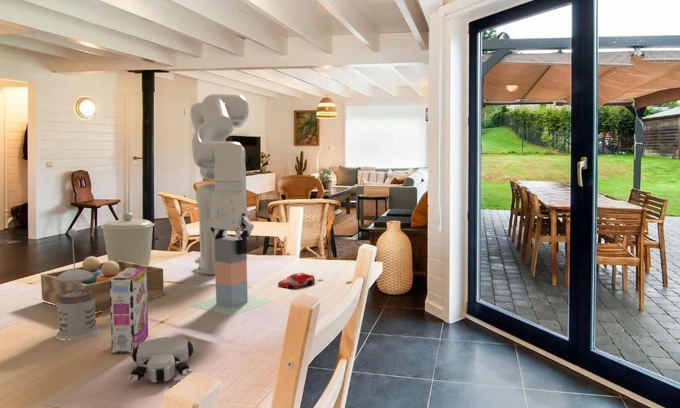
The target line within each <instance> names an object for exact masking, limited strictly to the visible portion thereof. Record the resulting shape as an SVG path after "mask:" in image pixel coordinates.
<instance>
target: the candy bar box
mask: <svg viewBox="0 0 680 408" xmlns="http://www.w3.org/2000/svg"><path fill="white" fill-rule="evenodd" d="M109 280H110V307H111V310H110V328H111V329H110V331H111V332H110V334H111V338H110V339H111V354H131V352H132V344H133V342H134V347H133V351H134V349H135V348H136V347H137V346H139V344H140V343H142V342H144V341H146V338H147V337H148V336H149V313H148V312H149V311H148V299H147V268H126V269H124V270H123V271H121V272H120V273H118V274H117V275H115V276H113V277H112V278H110V279H109Z"/></svg>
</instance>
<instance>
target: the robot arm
mask: <svg viewBox="0 0 680 408" xmlns="http://www.w3.org/2000/svg"><path fill="white" fill-rule="evenodd" d="M249 110H250V108H249V104H248V101H247V99H246V98H245V97H244V96H243V95H242V94H227V93H226V94H225V93H221V94H220V93H212V94H209V95H207V96H205V97H204V98H203V100H202V102H197V103H194V104H193V105H192V106H191V107H190V120H191V124H192V127H193V129H194V133H193V134H192V138H191V139H192V140H191V148H192V149H191V150H192V157H193V161H194V164H195V165H196V167H198V168H199V174H200V176H201V177H202V178H203V179H206V180H214V182H213V183H212V182H211V183H209V182H208V183H203V184H201V185H199V186H198V187H197V188H196V190H195V199H196V205H197V206H196V207H197V211H198V220H199V221H198V223H199V226H198V227H199V251H200V252H199V253H200V256H199V257H197V259H195V260H194V263H195V264H198V267H196V269H195V271H196V273H197V274H200V275H206V276H207V275H209V276H210V275H211V276H212V275H213V276H214V275H215V240H214V239H219V238H224V237H228V231H229V232H234V233H235V235H236V237H238V240H237V241H236V249H237V255H241V254H245V253H246V252H247V240H248V239H249V236H250V235H251V233H252V232H253V229H254V227H255V225H254V223H253V222H252V221H251V220H250V219H249V217H248V216H249V215H248V206H247V205H248V204H247V173H246V171H247V168H246V149H245V148H244V146H243V144H241V143H240V142H237V141H224V139H227V138H228V137H230V136H231V135H232V134H233V131H234V129H239V128H241V127H242V126H243V125H244V124H245V122H246V121H247V120H248V117H249Z"/></svg>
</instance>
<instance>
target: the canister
mask: <svg viewBox="0 0 680 408" xmlns="http://www.w3.org/2000/svg"><path fill="white" fill-rule="evenodd" d="M133 215H134V214H133V213H131V212H127V211H126V212H123V214H122V219H117V220H112V221H111V220H110V221H107V222H105V223H104V224H103V225H101V226H100V228H101V230H102V234H103V239H104V244H105V251H106V255H107V256H106V257H107V259H108V260H107V261H114V260H120V261H125V262H131V263H136V264H141V265H146V266H150V263H151V257H152V255H151V254H152V253H151V252H152V245H153V244H152V242H153V231H154V230H153V227H154V226H155V224H156V223H154V222H152V221H151V220H148V219H144V218H143V219H140V218H133V217H134V216H133Z"/></svg>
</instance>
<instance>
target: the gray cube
mask: <svg viewBox="0 0 680 408" xmlns="http://www.w3.org/2000/svg"><path fill="white" fill-rule="evenodd" d="M214 240H215V261H217V262H224V263H230V264H232V263H236V262H240V261H244V260H247V259H248V255H247V254H248V253H247V252H246V253H245V254H241V255H237V249H236V241H237V240H238V237H237V236H232V235H231V236H227V237H224V238H219V239H214ZM247 261H248V260H247Z"/></svg>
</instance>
